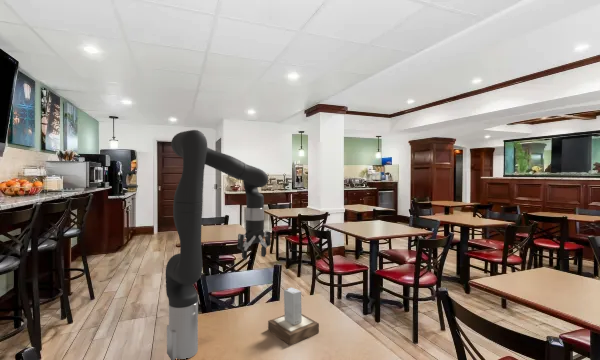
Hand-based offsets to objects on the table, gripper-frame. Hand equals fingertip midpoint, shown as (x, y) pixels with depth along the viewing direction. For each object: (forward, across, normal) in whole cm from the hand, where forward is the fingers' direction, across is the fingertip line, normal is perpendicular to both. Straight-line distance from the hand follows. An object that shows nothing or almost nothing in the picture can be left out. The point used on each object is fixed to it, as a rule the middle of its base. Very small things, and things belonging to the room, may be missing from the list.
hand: (254, 257), depth 127 cm
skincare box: (+22, +8, -16) cm, 29 cm away
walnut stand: (+26, +8, -16) cm, 32 cm away
